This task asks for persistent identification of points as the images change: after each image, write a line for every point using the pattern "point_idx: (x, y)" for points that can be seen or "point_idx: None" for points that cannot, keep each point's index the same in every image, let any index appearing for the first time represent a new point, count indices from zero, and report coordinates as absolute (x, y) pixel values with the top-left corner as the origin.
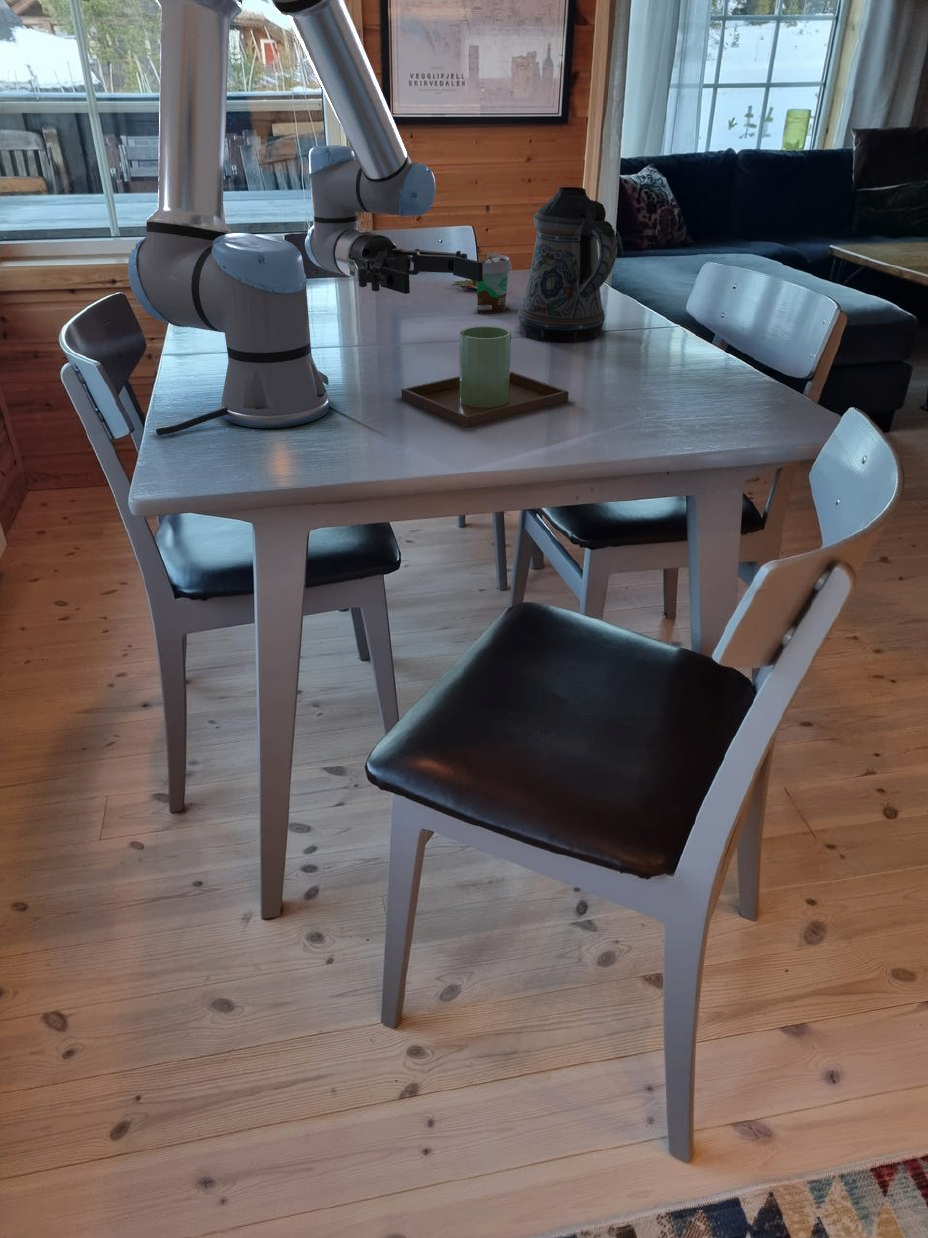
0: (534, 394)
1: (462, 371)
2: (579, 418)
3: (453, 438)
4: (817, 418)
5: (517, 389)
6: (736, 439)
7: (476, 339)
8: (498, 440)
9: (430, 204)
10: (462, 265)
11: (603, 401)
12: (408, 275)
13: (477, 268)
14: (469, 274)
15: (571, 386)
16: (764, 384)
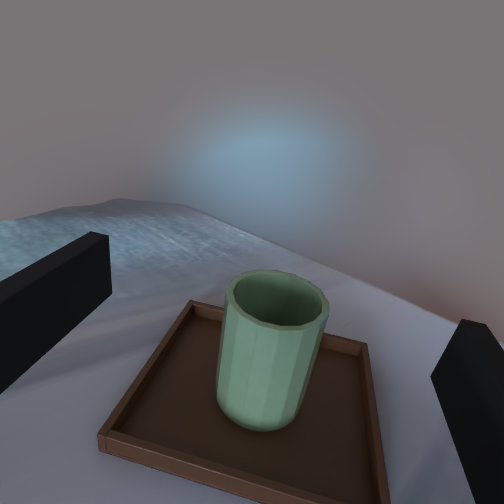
0: (184, 348)
1: (312, 368)
2: None
3: (394, 355)
4: (126, 202)
5: (173, 377)
6: (202, 222)
7: (322, 293)
8: (350, 321)
9: None
10: (26, 318)
11: (158, 290)
12: (461, 326)
13: (104, 258)
14: (72, 312)
15: (106, 332)
16: (29, 220)
